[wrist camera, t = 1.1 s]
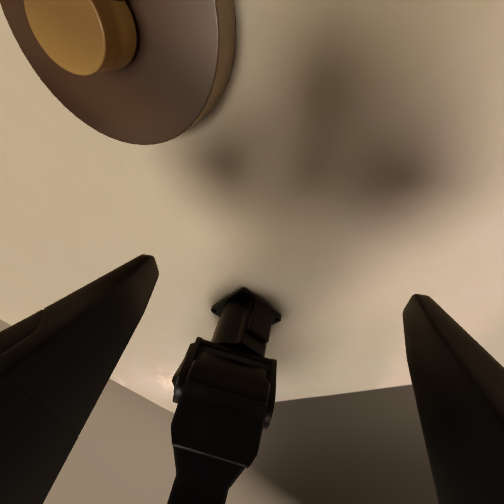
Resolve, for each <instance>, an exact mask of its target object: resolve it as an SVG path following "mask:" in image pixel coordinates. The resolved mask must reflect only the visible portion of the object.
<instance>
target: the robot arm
mask: <svg viewBox="0 0 504 504" xmlns="http://www.w3.org/2000/svg"><path fill="white" fill-rule="evenodd" d="M158 276H159V271H158V268H157V264H156V261H155V258H154V257H153V256H151V255H144V254H143V255H140V256H138V257H136V258H134V259H133V260H131V261H129V262H127V263H125V264H124V265H122V266H120V267H118V268H116V269H115V270H113V271H111V272H109V273H107V274H106V275H104V276H102V277H100V278H98V279H97V280H95V281H93V282H91V283H89V284H87V285H86V286H84V287H82V288H80V289H78V290H77V291H75V292H73V293H71V294H69V295H68V296H66V297H64V298H62V299H60V300H59V301H57V302H55V303H53V304H51V305H49V306H48V307H46V308H44V310H40V311H39V312H37V313H35V314H33V315H31V316H29V317H28V318H26V319H24V320H22V321H20V322H18V323H16V324H14V325H13V326H11V327H9V328H7V329H5V330H3V331H1V332H0V504H43V502H44V500H45V498H46V496H47V494H48V493H49V491H50V489H51V487H52V485H53V483H54V481H55V480H56V478H57V476H58V474H59V472H60V470H61V468H62V466H63V465H64V463H65V461H66V459H67V457H68V455H69V453H70V451H71V450H72V448H73V446H74V444H75V442H76V440H77V438H78V435H79V434H80V432H81V430H82V429H83V427H84V425H85V423H86V421H87V419H88V417H89V415H90V413H91V412H92V410H93V408H94V406H95V404H96V402H97V400H98V398H99V396H100V394H101V393H102V391H103V389H104V387H105V385H106V383H107V382H108V380H109V378H110V376H111V374H112V372H113V370H114V368H115V367H116V365H117V363H118V361H119V359H120V357H121V355H122V353H123V351H124V350H125V348H126V346H127V344H128V342H129V340H130V338H131V336H132V335H133V333H134V331H135V329H136V327H137V325H138V323H139V321H140V320H141V318H142V316H143V314H144V311H145V309H146V307H147V304H148V302H149V299H150V297H151V294H152V292H153V289H154V287H155V284H156V282H157V279H158ZM243 292H244V293H243ZM211 311H212V312H213V313H214V314H216V315H217V316H219V317H220V318H219V320H218V323H217V326H216V329H215V332H214V335H213V338H212V341H211V342H210V341H207V340H204V339H202V338H200V337H197V339H196V341H195V343H192V344H190V346H189V348H188V351H187V353H186V356H185V358H184V360H183V361H182V363H181V365H180V366H179V368H178V369H177V371H176V373H175V374H174V376H173V379H172V383H173V385H174V396H173V402H175V403H178V405H177V408H176V411H175V414H174V417H173V420H172V423H171V436H172V445H173V449H174V457H175V466H176V477H175V480H174V484H173V487H172V490H171V493H170V496H169V500H168V503H167V504H225V502H226V498H227V493H228V490H229V488H230V487H231V486H232V484H233V483H234V482H235V480H236V479H237V478H238V477H239V475H240V474H241V473H242V471H243V470H244V469H245V468H248V467H249V466H250V465H251V463H252V462H253V460H254V459H255V457H256V456H257V452H258V449H259V444H260V439H261V434H262V430H263V429H267V428H268V426H269V424H270V421H271V417H272V414H273V409H274V403H275V394H276V367H277V360H275V359H268V358H265V357H264V356H265V350H266V344H267V342H268V341H269V335H270V329H271V325H273V324H275V323H277V322H279V321H281V315H280V314H278V313H277V312H276V311H274V310H273V309H272V308H270V307H269V306H268V305H266V304H265V303H264V302H262V301H261V300H260V299H258V298H257V297H256V296H255V295H253V294H252V293H251V292H249V291H248V290H247V289H245V288H241V289H239V290H237V291H236V292H234V293H233V294H231V295H229V296H228V297H226V298H225V299H223V300H222V301H220V302H218V303H217V304H215V305H214V306H212V308H211ZM403 324H404V335H405V345H406V355H407V362H408V367H409V372H410V376H411V381H412V385H413V390H414V394H415V398H416V403H417V408H418V412H419V417H420V422H421V426H422V431H423V435H424V440H425V444H426V449H427V453H428V458H429V462H430V467H431V471H432V475H433V480H434V485H435V490H436V494H437V499H438V503H439V504H504V367H503V366H502V365H501V364H500V363H498V362H497V361H496V360H495V359H494V358H493V357H492V356H491V355H490V354H489V353H488V352H487V351H486V350H485V349H484V348H483V347H482V346H481V345H480V344H479V343H478V342H477V341H475V340H474V339H473V338H472V337H471V336H470V335H469V334H468V333H467V332H466V331H465V330H464V329H463V328H462V327H461V326H460V325H459V324H458V323H457V322H456V321H455V320H454V319H452V318H451V317H450V316H449V315H448V314H447V313H446V312H445V311H444V310H443V309H442V308H441V307H440V306H439V305H438V304H437V303H436V302H435V301H434V300H433V299H432V298H430V297H429V296H427V295H420V294H414V295H413V296H412V297H411V298H410V300H409V302H408V303H407V305H406V307H405V308H404V311H403Z"/></svg>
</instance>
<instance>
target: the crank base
mask: <svg viewBox="0 0 504 504" xmlns="http://www.w3.org/2000/svg"><path fill="white" fill-rule="evenodd" d="M124 1H125V2H126V4H127V6H128V8H129V10H130V12H131V15H132V17H133V20H134V24H135V28H136V36H137V43H136V50H135V53H134V56H133V58H132V60H131V61H130V63H129V64H128V65H127V66H125V67H123V68H121V69H117V70H112V71H107V72H102V73H98V74H93V75H87V76H81V75H76V74H73V73H71V72H69V71H67V70H65V69H64V68H62V67H61V66H59V65H58V64H57V63H56V62H54V61H53V60H52V59H51V58H50V57H49V55H48V54H47V53H46V52H45V51H44V49H43V48H42V47H41V45H40V44H39V42H38V40H37V39H36V37H35V35H34V33H33V31H32V29H31V27H30V24H29V22H28V19H27V15H26V11H25V6H24V0H0V3H1V6H2V9H3V12H4V15H5V17H6V19H7V21H8V24H9V26H10V28H11V30H12V33H13V35H14V37H15V38H16V40H17V42H18V44H19V46H20V48H21V50H22V52H23V53H24V55H25V56H26V58H27V60H28V61H29V63H30V64H31V66H32V68H33V69H34V70H35V72H36V73H37V75H38V76H39V77H40V79H41V80H42V81H43V83H44V84H45V85H46V86H47V88H48V89H49V90H50V91H51V92H52V94H53V95H54V96H55V97H56V98H57V99H58V100H59V101H60V102H61V103H62V104H63V105H64V106H65V107H66V108H67V109H68V110H69V111H71V112H72V113H73V114H74V115H75V116H76V117H78V118H79V119H80V120H82V121H83V122H84V123H86V124H87V125H89V126H90V127H92V128H93V129H95V130H97V131H98V132H100V133H102V134H104V135H106V136H108V137H111V138H113V139H116V140H119V141H122V142H126V143H131V144H139V145H151V144H158V143H163V142H166V141H169V140H171V139H173V138H175V137H177V136H179V135H180V134H182V133H183V132H185V131H186V130H187V129H189V128H190V127H191V126H193V125H194V124H195V123H196V122H198V121H199V120H200V119H202V118H203V117H204V116H205V115H206V114H207V113H208V112H209V111H210V110H211V109H212V108H213V107H214V105H215V104H216V103H217V101H218V100H219V98H220V96H221V95H222V93H223V91H224V89H225V86H226V84H227V82H228V79H229V75H230V72H231V69H232V64H233V59H234V53H235V41H236V22H235V11H234V3H233V0H124Z"/></svg>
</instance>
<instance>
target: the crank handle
mask: <svg viewBox="0 0 504 504" xmlns="http://www.w3.org/2000/svg"><path fill="white" fill-rule="evenodd" d="M24 6H25V11H26V15H27V19H28V22H29V24H30V27H31V29H32V31H33V33H34V35H35V37H36V39H37V40H38V42H39V44H40V45H41V47H42V48H43V49H44V51H45V52H46V53H47V54H48V55H49V57H50V58H51V59H52V60H53V61H54V62H56V63H57V64H58V65H59V66H61V67H62V68H64V69H65V70H67V71H69V72H71V73H73V74H76V75H81V76H87V75H93V74H98V73H102V72H107V71H112V70H117V69H121V68H123V67H125V66H127V65H128V64H129V63H130V61H131V60H132V58H133V56H134V53H135V50H136V43H137V36H136V28H135V24H134V20H133V17H132V15H131V12H130V10H129V8H128V6H127V4H126V2H125V1H124V0H24Z"/></svg>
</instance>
